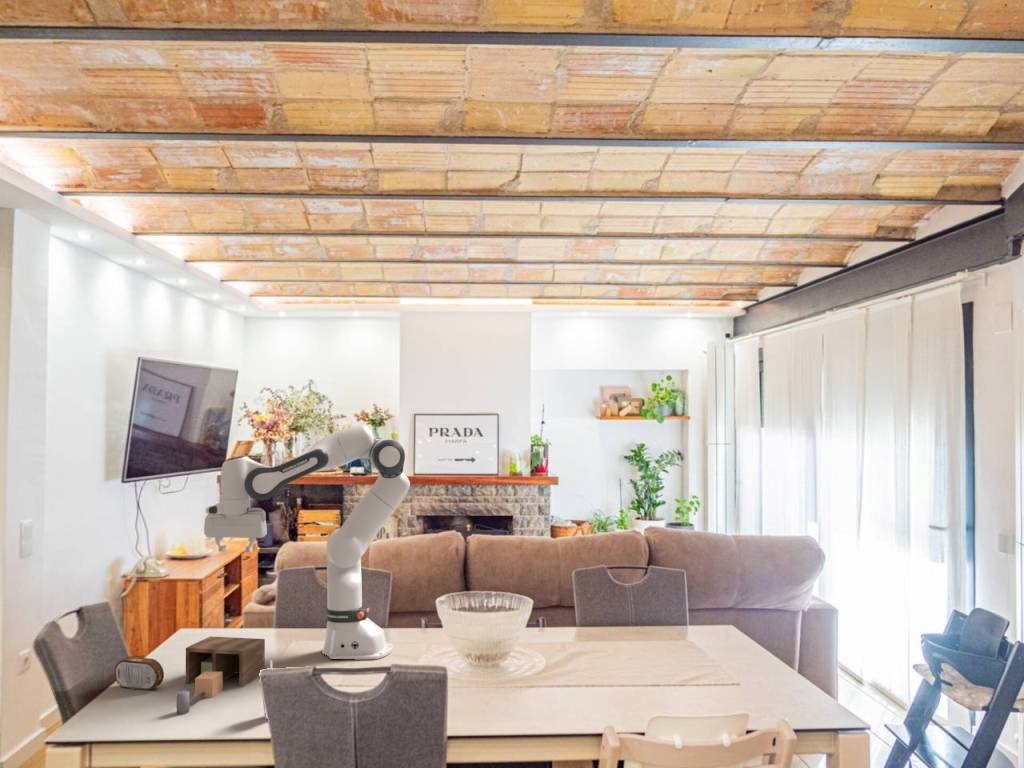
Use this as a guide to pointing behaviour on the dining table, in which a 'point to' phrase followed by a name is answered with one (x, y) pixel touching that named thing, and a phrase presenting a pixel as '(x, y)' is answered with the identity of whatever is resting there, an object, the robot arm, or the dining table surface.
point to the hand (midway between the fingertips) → (235, 551)
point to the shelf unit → (227, 657)
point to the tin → (139, 673)
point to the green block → (206, 665)
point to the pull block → (200, 690)
